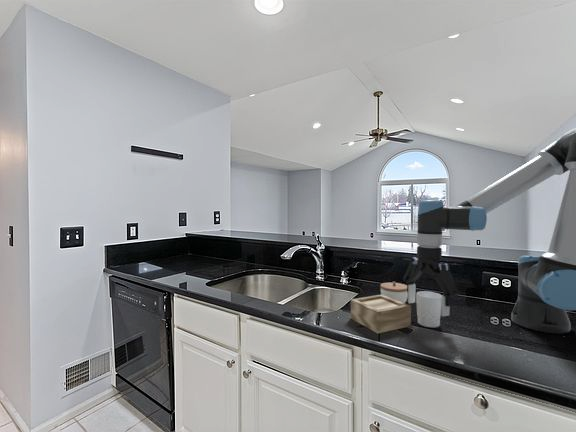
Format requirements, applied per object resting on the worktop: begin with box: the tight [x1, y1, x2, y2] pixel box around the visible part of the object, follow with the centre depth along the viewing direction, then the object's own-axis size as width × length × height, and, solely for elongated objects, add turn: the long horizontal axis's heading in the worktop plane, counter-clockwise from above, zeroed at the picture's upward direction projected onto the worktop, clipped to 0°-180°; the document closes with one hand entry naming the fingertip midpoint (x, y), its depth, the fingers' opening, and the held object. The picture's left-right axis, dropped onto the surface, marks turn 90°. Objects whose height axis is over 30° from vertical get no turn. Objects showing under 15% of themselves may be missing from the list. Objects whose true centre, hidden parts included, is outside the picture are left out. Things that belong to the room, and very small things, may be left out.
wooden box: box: [350, 294, 412, 334], centre depth 102 cm, size 14×14×7 cm
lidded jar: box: [379, 281, 408, 304], centre depth 120 cm, size 11×11×9 cm
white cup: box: [415, 290, 442, 328], centre depth 101 cm, size 8×8×10 cm
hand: (427, 308), depth 101 cm, fingers open, 13 cm apart
